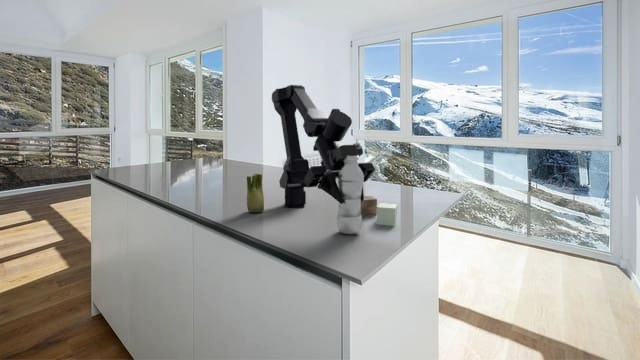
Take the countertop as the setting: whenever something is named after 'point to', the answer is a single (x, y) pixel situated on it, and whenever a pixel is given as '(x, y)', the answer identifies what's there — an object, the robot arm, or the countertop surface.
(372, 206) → the walnut block
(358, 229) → the plastic bottle
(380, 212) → the sage block
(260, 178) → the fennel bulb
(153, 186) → the countertop surface
